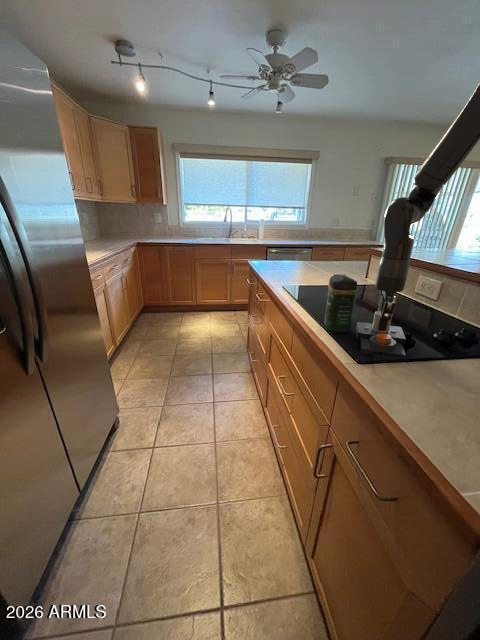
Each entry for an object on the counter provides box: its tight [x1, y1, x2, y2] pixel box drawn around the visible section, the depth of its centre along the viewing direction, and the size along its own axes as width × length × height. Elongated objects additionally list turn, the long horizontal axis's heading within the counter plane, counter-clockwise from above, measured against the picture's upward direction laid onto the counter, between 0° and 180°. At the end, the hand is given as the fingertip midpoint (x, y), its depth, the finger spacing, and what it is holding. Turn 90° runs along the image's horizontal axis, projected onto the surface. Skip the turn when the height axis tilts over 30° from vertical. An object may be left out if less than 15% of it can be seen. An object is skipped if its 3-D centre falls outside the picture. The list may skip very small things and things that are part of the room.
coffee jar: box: [323, 273, 358, 334], centre depth 88 cm, size 10×8×19 cm
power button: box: [376, 333, 391, 344], centre depth 75 cm, size 4×4×2 cm
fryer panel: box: [355, 321, 407, 345], centre depth 83 cm, size 13×9×3 cm
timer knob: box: [372, 310, 393, 333], centre depth 81 cm, size 5×5×6 cm
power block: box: [359, 335, 407, 357], centre depth 76 cm, size 11×7×4 cm, turn 69°
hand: (380, 326), depth 82 cm, fingers closed on timer knob, 5 cm apart
